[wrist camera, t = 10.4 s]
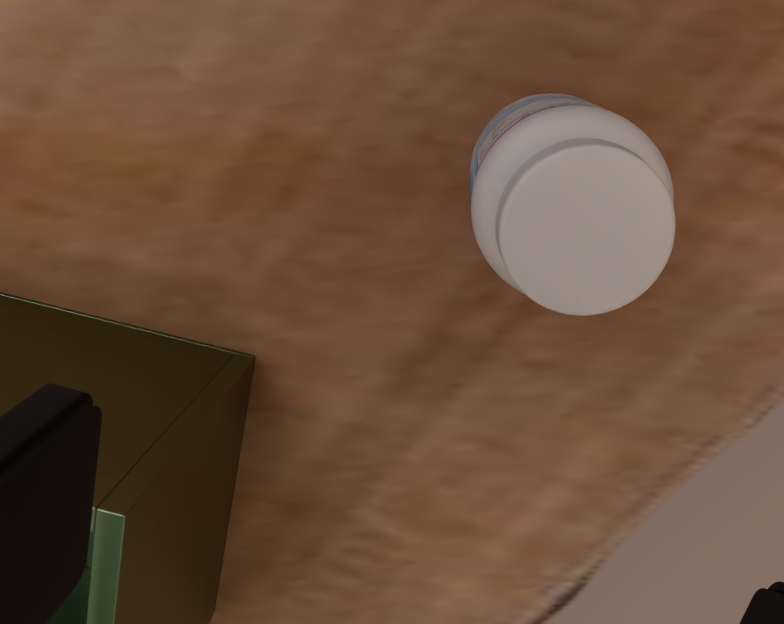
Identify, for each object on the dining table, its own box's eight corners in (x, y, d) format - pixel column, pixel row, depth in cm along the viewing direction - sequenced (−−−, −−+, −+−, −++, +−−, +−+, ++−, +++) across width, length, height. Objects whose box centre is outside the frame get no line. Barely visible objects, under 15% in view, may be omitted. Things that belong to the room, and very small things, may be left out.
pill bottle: (601, 251, 31) (669, 361, 20) (457, 226, 31) (451, 321, 21) (641, 103, 29) (740, 140, 18) (486, 77, 29) (496, 98, 18)
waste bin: (-22, 280, 35) (-312, 401, 22) (260, 350, 34) (125, 516, 22) (-28, 537, 40) (-269, 756, 27) (218, 603, 39) (88, 859, 26)
